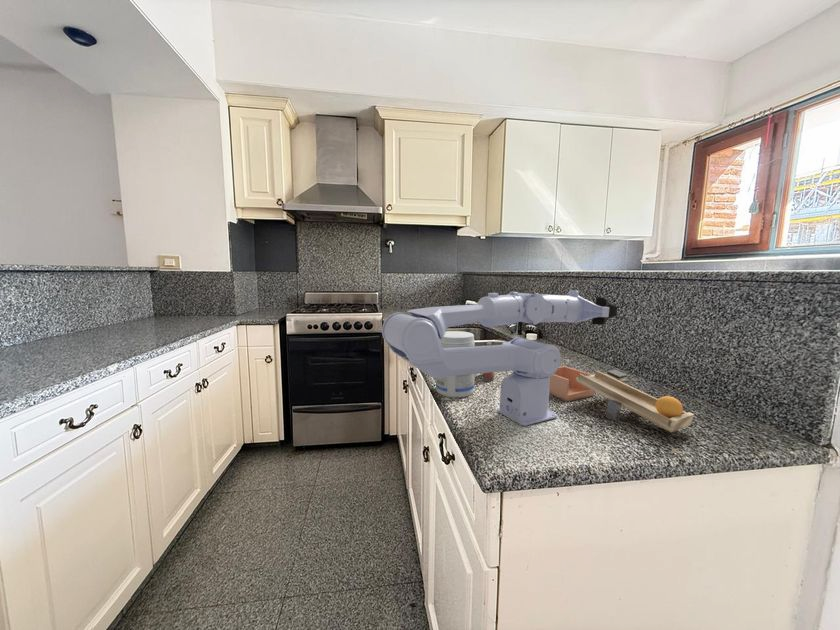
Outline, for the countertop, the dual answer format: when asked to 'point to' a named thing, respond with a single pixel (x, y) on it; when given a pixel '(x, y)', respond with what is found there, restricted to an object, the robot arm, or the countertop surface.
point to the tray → (568, 384)
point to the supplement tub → (462, 383)
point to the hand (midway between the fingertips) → (599, 309)
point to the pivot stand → (613, 410)
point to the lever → (632, 398)
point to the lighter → (490, 375)
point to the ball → (669, 406)
